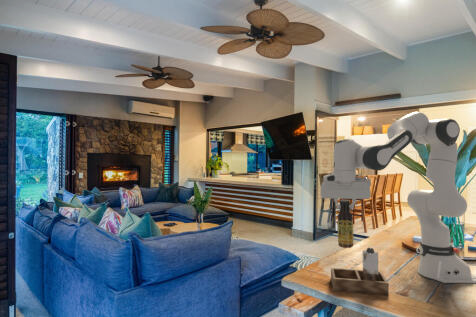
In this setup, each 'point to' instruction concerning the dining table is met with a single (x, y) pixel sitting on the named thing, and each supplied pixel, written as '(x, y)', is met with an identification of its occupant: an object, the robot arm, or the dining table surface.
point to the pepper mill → (370, 264)
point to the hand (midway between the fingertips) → (345, 209)
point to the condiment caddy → (358, 282)
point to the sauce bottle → (345, 225)
